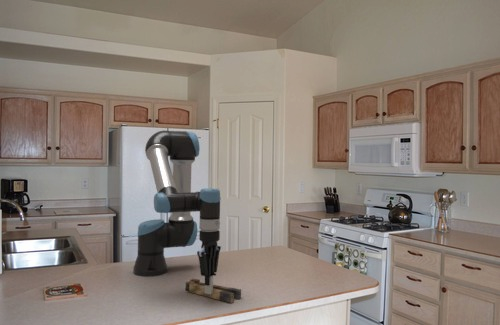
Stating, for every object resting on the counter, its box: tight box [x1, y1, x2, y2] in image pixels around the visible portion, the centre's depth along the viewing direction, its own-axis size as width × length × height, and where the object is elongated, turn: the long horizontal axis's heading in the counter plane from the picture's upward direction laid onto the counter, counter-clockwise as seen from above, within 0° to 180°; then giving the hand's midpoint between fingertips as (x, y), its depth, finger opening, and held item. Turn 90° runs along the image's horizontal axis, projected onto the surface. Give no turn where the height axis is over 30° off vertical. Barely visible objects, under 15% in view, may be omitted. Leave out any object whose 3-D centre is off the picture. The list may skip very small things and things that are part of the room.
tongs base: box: [185, 278, 242, 300], centre depth 154 cm, size 23×4×4 cm, turn 63°
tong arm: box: [185, 279, 235, 304], centre depth 151 cm, size 22×2×4 cm, turn 57°
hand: (208, 293), depth 149 cm, fingers closed
